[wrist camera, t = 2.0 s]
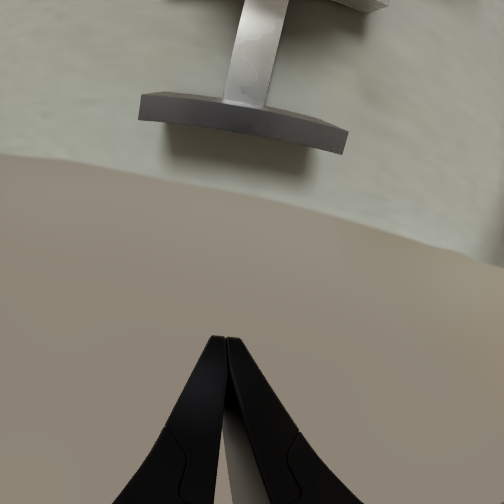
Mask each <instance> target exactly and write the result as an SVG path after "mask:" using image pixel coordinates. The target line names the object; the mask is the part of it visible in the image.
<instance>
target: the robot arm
mask: <svg viewBox="0 0 504 504" xmlns="http://www.w3.org/2000/svg"><path fill="white" fill-rule="evenodd" d="M222 430H223V438H224V445H225V453H226V460H227V467H228V474H229V481H230V488H231V494H232V500H233V504H364V503H363V502H361V501H360V500H359V499H358V498H357V497H356V496H355V495H354V494H353V493H352V492H351V491H350V490H349V489H348V488H347V487H346V486H345V485H344V484H343V483H342V482H341V481H340V480H339V479H338V478H337V477H336V476H335V474H334V473H333V472H332V471H331V470H330V469H329V468H328V467H327V466H326V464H325V463H324V462H323V461H322V460H321V459H320V458H319V456H318V455H317V454H316V453H315V451H314V450H313V449H312V447H311V446H310V445H309V443H308V442H307V440H306V439H305V437H304V436H303V434H302V433H301V432H299V429H298V427H297V426H296V424H295V423H294V421H293V420H292V418H291V417H290V415H289V414H288V412H287V411H286V410H285V408H284V407H283V405H282V403H281V402H280V400H279V399H278V397H277V396H276V394H275V393H274V391H273V389H272V388H271V386H270V385H269V383H268V382H267V380H266V378H265V377H264V375H263V374H262V372H261V371H260V369H259V367H258V366H257V364H256V363H255V361H254V359H253V358H252V356H251V355H250V353H249V351H248V350H247V348H246V346H245V345H244V343H243V342H242V340H241V339H240V338H235V337H227V338H226V339H225V337H224V336H214V335H213V336H211V337H210V339H209V340H208V342H207V344H206V346H205V348H204V350H203V352H202V354H201V356H200V358H199V360H198V362H197V364H196V366H195V368H194V370H193V372H192V373H191V376H190V377H189V379H188V381H187V383H186V385H185V387H184V389H183V391H182V393H181V395H180V397H179V399H178V401H177V403H176V405H175V406H174V408H173V410H172V412H171V415H170V416H169V418H168V420H167V422H166V424H165V427H164V428H163V429H162V431H161V433H160V435H159V437H158V439H157V441H156V442H155V444H154V446H153V448H152V450H151V451H150V453H149V454H148V456H147V457H146V459H145V460H144V462H143V463H142V465H141V466H140V468H139V469H138V470H137V472H136V473H135V474H134V476H133V477H132V479H131V480H130V481H129V482H128V484H127V485H126V486H125V488H124V489H123V490H122V492H121V493H120V494H119V495H118V497H117V498H116V499H115V501H114V502H113V503H112V504H214V494H215V486H216V476H217V466H218V458H219V449H220V440H221V432H222ZM501 504H504V502H503V503H501Z"/></svg>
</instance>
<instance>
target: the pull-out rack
mask: <svg viewBox="0 0 504 504" xmlns="http://www.w3.org/2000/svg"><path fill="white" fill-rule="evenodd" d="M332 1H334V2H337V3H340V4H343V5H346V6H348V7H351V8H353V9H356V10H359V11H361V12H363V13H366V14H368V13H371V12H374V11H376V10H379V9H382V8H385V7H388V6H389V2H390V0H332ZM288 2H289V0H245V2H244V6H243V10H242V14H241V18H240V22H239V26H238V31H237V35H236V39H235V43H234V48H233V52H232V57H231V61H230V66H229V70H228V75H227V80H226V85H225V89H224V94H223V99H222V98H216V97H209V96H201V95H193V94H184V93H174V92H157V93H149V94H142V95H141V102H140V109H139V117H138V120H144V121H156V122H167V123H176V124H185V125H193V126H201V127H208V128H215V129H222V130H228V131H234V132H240V133H246V134H252V135H257V136H262V137H267V138H272V139H277V140H282V141H287V142H291V143H296V144H300V145H305V146H309V147H313V148H317V149H321V150H325V151H329V152H333V153H337V154H341V155H342V154H343V150H344V147H345V143H346V140H347V136H348V131H346V130H344V129H341V128H339V127H337V126H334V125H332V124H330V123H327V122H325V121H322V120H320V119H317V118H314V117H310V116H306V115H302V114H298V113H294V112H290V111H285V110H281V109H276V108H272V107H267V106H264V104H265V100H266V95H267V91H268V87H269V82H270V78H271V73H272V69H273V65H274V60H275V56H276V52H277V48H278V43H279V39H280V35H281V31H282V26H283V22H284V18H285V14H286V10H287V6H288Z"/></svg>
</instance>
